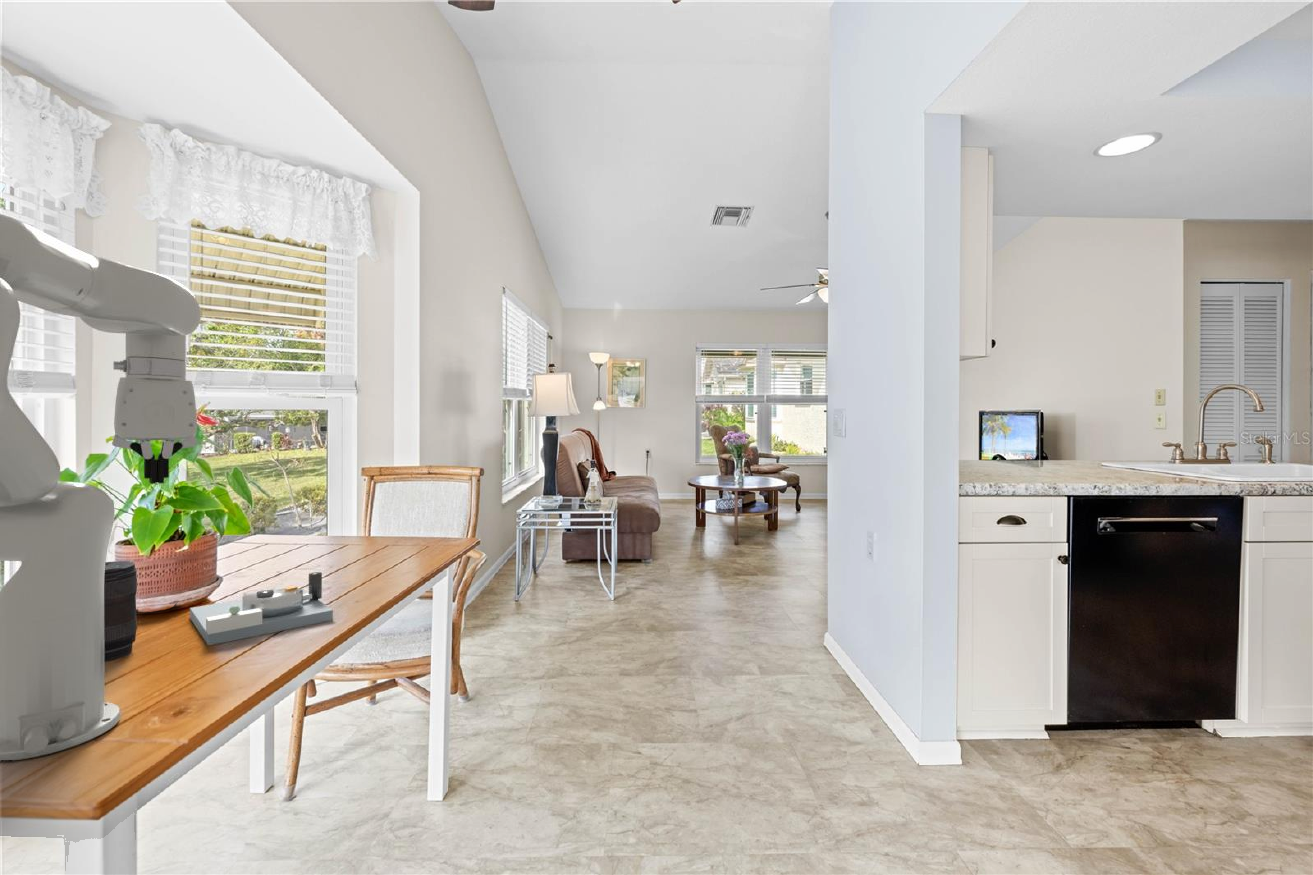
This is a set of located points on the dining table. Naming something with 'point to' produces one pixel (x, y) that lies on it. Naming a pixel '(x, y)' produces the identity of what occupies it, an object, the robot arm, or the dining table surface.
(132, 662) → the dining table surface
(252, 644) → the dining table surface
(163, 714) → the dining table surface
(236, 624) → the level board
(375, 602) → the dining table surface
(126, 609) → the camera lens
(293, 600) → the dial
